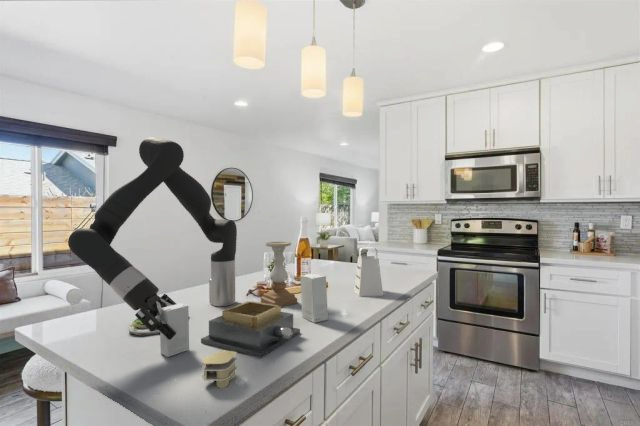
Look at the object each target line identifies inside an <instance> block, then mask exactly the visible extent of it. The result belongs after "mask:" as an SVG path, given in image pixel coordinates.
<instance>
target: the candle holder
mask: <svg viewBox="0 0 640 426" xmlns="http://www.w3.org/2000/svg"><path fill="white" fill-rule="evenodd" d="M265 246H266V247H268V248H269V247H270V248H271V250H272V251H273V257H272V258H271V260H272V262H273V263H274V264H273V265H274V266H273V268H272V270H271V271H270V273H269V279H270V281H271V282H272V283H271V284H270V287H271V289H270V291H268V292H265V293H263V295H262V296H261V297H260V303H266V304H273V305H279V306H281V307H286V306H290V305H294V304H298V298H297V297H296V295H295V294H294V293H292V292H289V290H288V289H286V288H287V283H286V281H287V280H288V277H289V275H288V272H287V270H286V269H285V266H284V262H285V260H286V257H285V256H284V251H285V250H286V247H290V246H292V242H289V241H270V242H269V241H268V242H266V243H265Z"/></svg>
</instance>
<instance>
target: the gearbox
mask: <svg viewBox="0 0 640 426" xmlns="http://www.w3.org/2000/svg"><path fill="white" fill-rule="evenodd" d="M281 307H282V306H279V305H273V304H266V303H262V302H261V301H260V302H259V301H253V300H252V301H245V302H243V303H239V304H237V305H235V306H232V307H229V308H227V309H224V310H222V311H221V315H220V316H217V317H215V318H213V319H210V320H208V335H206V336H203V337H202V338H200V343H201V344H203V345H209V346H212V347H215V348H220V349H223V350H227V351H233V352H237V353H240V354H245V355H247V356H253V357H257V358H260V359H262V358H263V357H265V356H267V355H268V354H269V353H271V352H273V351H274V350H275V349H276V350H277V348H279V347H280V346H282V345H284V344H285V343H286V342H288V341H289V340H292V339H293V338H294V337H296V336H298V335H299V334H300V333H301V329H300V328H297V327H294V313H290V312H285V311H283V312H282V311H281V310H282V308H281Z"/></svg>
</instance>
